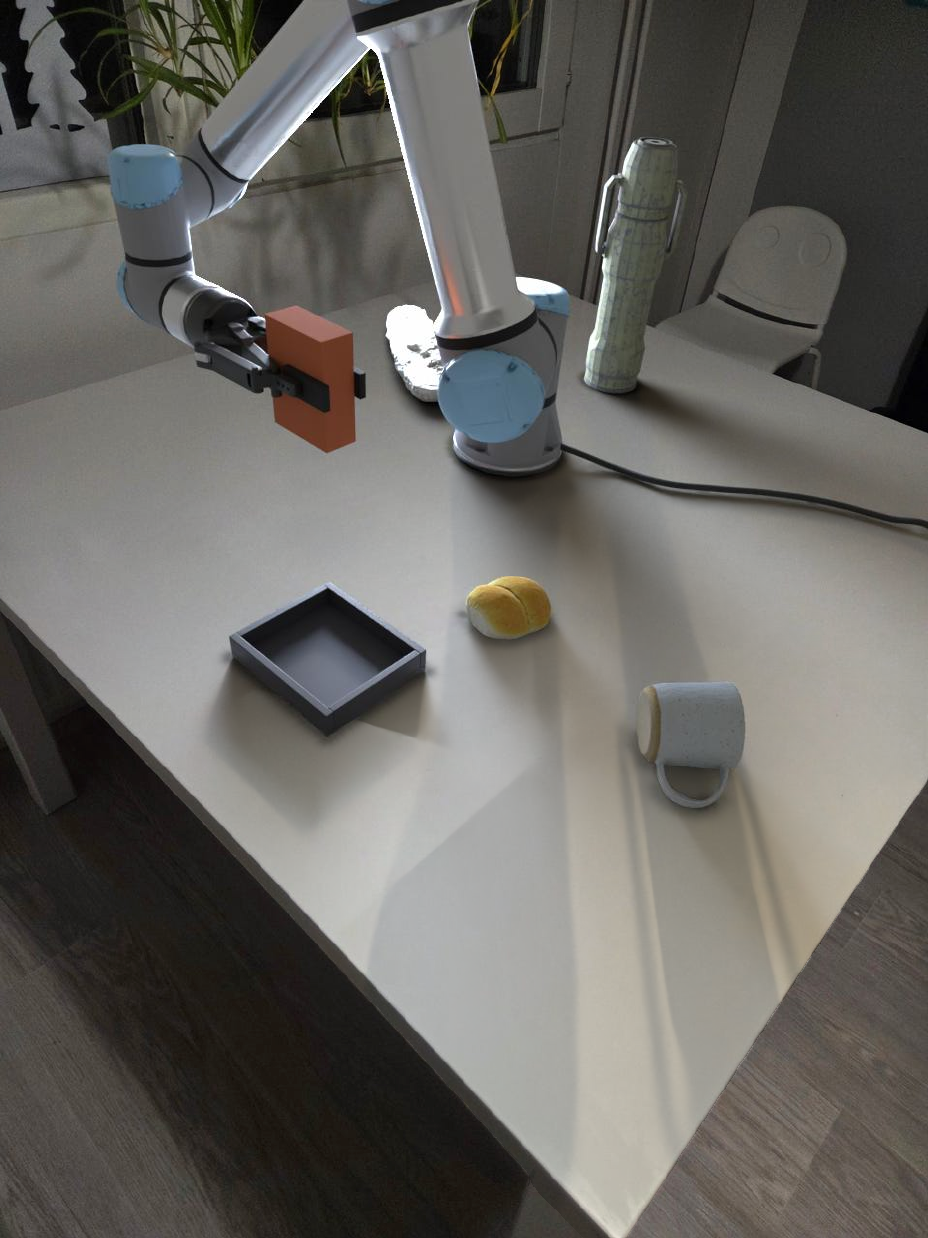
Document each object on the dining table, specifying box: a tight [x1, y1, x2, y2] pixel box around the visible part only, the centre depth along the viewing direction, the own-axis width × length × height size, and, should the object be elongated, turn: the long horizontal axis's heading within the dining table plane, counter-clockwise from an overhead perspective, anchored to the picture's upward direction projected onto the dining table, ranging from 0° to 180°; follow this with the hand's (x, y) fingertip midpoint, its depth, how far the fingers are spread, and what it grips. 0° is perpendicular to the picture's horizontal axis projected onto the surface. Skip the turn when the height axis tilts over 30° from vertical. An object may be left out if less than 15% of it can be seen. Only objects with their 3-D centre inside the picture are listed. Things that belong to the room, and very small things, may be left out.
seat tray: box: [228, 581, 427, 738], centre depth 81 cm, size 13×15×3 cm
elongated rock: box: [385, 304, 443, 403], centre depth 136 cm, size 35×5×10 cm
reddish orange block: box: [264, 305, 357, 454], centre depth 86 cm, size 4×9×12 cm, turn 46°
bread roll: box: [465, 576, 552, 640], centre depth 88 cm, size 8×9×4 cm
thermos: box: [583, 136, 689, 394], centre depth 124 cm, size 9×12×35 cm
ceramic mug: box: [636, 681, 746, 809], centre depth 72 cm, size 11×8×8 cm
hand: (344, 392), depth 83 cm, fingers closed on reddish orange block, 4 cm apart
